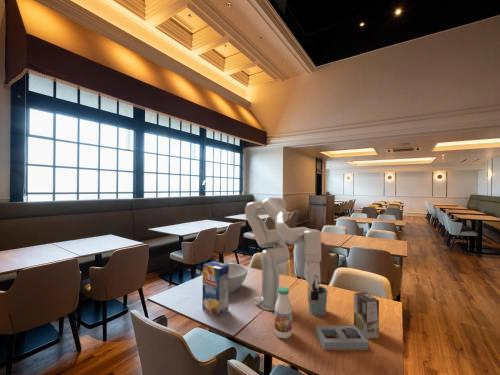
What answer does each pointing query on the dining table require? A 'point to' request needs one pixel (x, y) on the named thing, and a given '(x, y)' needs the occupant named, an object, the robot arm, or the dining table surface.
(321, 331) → the frame
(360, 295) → the coffee box
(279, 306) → the milk bottle
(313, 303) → the brass cylinder
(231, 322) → the dining table surface
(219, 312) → the juice carton
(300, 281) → the dining table surface
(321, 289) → the grey green cup
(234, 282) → the decorative bowl
